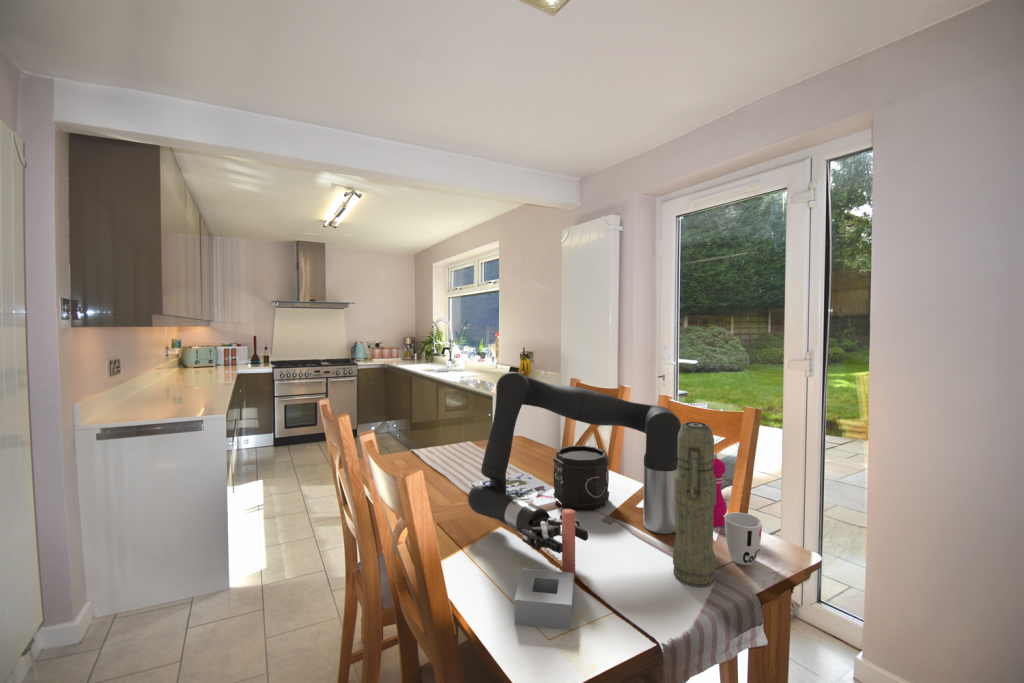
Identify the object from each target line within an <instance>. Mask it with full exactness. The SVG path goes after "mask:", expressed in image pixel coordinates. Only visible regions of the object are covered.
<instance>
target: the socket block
mask: <svg viewBox="0 0 1024 683" xmlns="http://www.w3.org/2000/svg"><path fill="white" fill-rule="evenodd" d="M574 601H575V577H574V573H569V572H562V571H556V570H555V571H554V570H546V569H545V570H544V569H542V570H541V569H530V568H522V571H521V574H520V578H519V581H518V584H517V589H516V592H515V595H514V600H513V603H514V604H513V605H514V609H513V610H514V625H519V626H527V627H529V626H530V627H537V628H547V629H549V628H550V629H557V630H565V631H567V630H568V631H573V630H572V629H573V616H574V603H575V602H574Z"/></svg>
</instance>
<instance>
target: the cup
mask: <svg viewBox="0 0 1024 683" xmlns="http://www.w3.org/2000/svg"><path fill="white" fill-rule="evenodd" d="M724 517H725V524H724V530H725V531H724V532H725V533H724V534H725V540H726V546H727V550H728V553H729V556H730V559H731V560H732V561H733V563H735V564H738V565H742V566H752V565H754V563H755V561H756V559H757V557H758V554H759V549H760V544H761V541H762V540H761V539H762V531H763V530H762V528H763V521H762V520H761V519H760V518H759V517H757V516H754V515H752V514H750V513H747V512H746V513H744V512H737V511H736V512H728V513H726V514H725V515H724Z"/></svg>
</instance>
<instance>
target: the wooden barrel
mask: <svg viewBox="0 0 1024 683" xmlns="http://www.w3.org/2000/svg"><path fill="white" fill-rule="evenodd" d="M552 461H553V464H554V465H553V490H554V492H553V494H552V496H553V498H555V499H556V498H557V499H558V500H559V501H560V502H561V503H562V506H561V508H563V509H572V510H574V511H575V512H594V511H597V510H599V509H601V508H604V507H606V503H608V502H609V499H610V498H609V497H610V491H609V490H608V489H609V482H610V481H609V480H610V478H609V476H610V474H609V473H610V469H609V468H610V467H609V464H610V456H609V455H607V452H606V451H605V450H604V449H600V448H599V447H598V448H597V447H595V446H589V445H568V446H565V447H560V448H558V450H557V451H556V453H555V455H554V457H553V460H552Z"/></svg>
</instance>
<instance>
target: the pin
mask: <svg viewBox="0 0 1024 683" xmlns="http://www.w3.org/2000/svg"><path fill="white" fill-rule="evenodd" d="M561 514H562V525H561V532H562V536H561V543H562V552H561V572H569V573H574V578H576V536H575V519H576V511H575V510H572V509H567V508H563V509H562V510H561Z"/></svg>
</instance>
